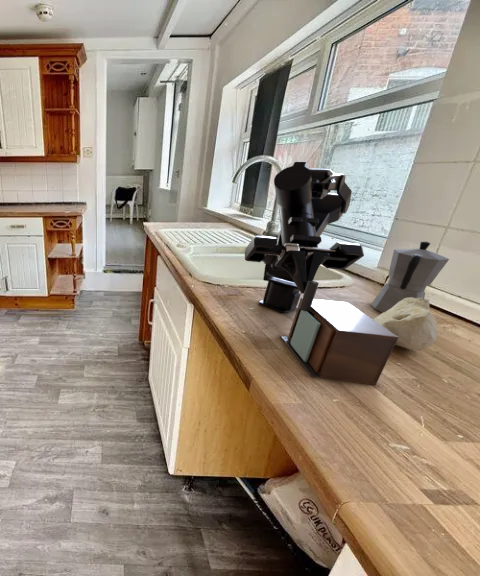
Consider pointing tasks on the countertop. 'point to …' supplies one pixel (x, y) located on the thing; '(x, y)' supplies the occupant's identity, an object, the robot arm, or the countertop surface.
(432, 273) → the coffeepot
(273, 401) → the countertop surface
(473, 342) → the countertop surface
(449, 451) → the countertop surface
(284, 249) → the robot arm
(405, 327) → the beige rock
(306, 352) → the cleaver
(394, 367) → the countertop surface
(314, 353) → the cabinet
